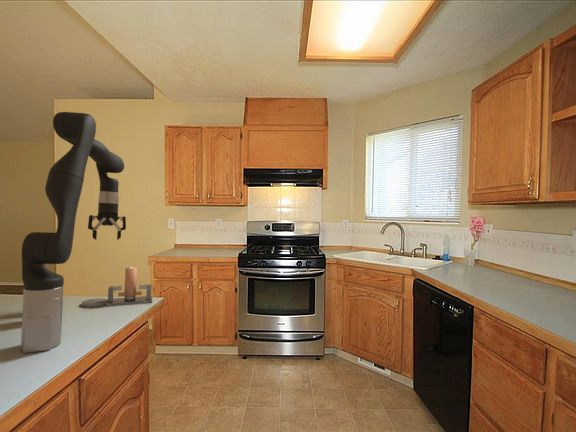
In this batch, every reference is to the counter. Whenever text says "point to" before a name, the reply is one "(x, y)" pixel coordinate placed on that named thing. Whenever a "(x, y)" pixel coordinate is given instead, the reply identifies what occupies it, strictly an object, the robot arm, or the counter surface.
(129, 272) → the knob
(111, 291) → the keeper post
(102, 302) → the coaster
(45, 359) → the counter surface
